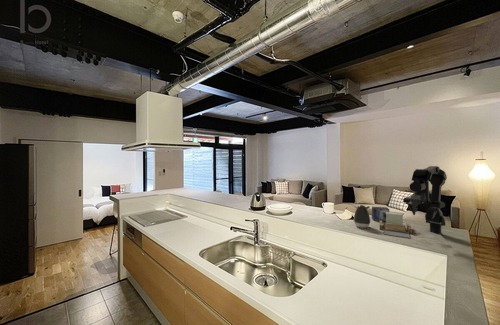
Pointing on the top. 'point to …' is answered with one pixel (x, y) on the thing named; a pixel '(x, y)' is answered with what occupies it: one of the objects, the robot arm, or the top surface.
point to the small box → (379, 213)
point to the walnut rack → (396, 230)
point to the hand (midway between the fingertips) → (422, 216)
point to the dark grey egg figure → (362, 217)
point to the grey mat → (396, 234)
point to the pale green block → (394, 218)
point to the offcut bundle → (395, 227)
